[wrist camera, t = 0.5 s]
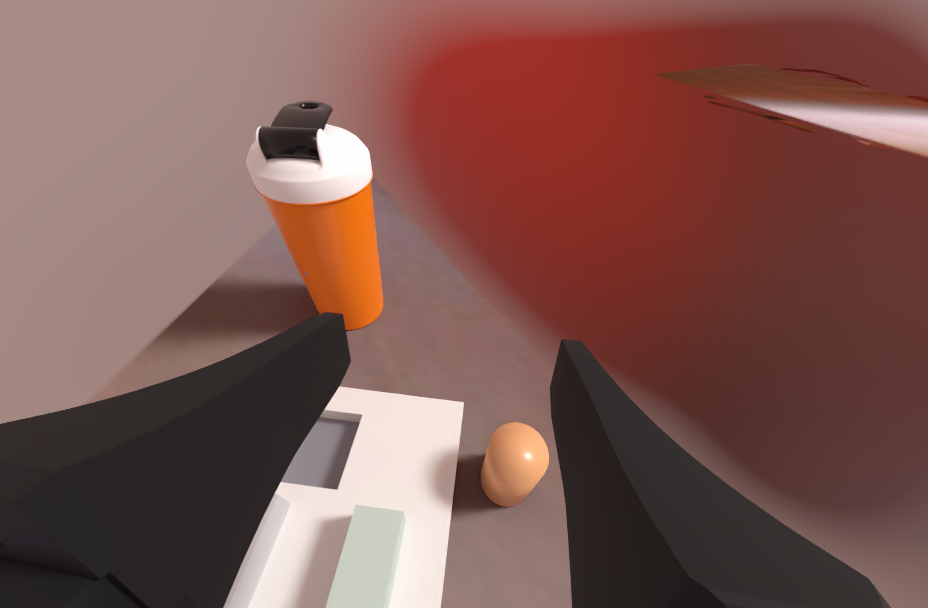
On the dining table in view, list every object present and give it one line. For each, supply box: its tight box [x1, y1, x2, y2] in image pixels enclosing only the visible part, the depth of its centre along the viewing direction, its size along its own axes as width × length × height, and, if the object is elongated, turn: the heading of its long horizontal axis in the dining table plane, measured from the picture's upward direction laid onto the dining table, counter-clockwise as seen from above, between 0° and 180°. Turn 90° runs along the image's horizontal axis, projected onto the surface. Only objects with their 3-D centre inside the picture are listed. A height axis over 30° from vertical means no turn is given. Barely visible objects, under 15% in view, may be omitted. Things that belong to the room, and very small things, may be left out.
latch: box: [326, 505, 406, 608], centre depth 19 cm, size 6×3×2 cm, turn 174°
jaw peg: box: [480, 423, 549, 507], centre depth 24 cm, size 4×4×6 cm
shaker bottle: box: [246, 101, 383, 330], centre depth 30 cm, size 9×9×20 cm
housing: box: [223, 387, 464, 608], centre depth 23 cm, size 15×16×4 cm
